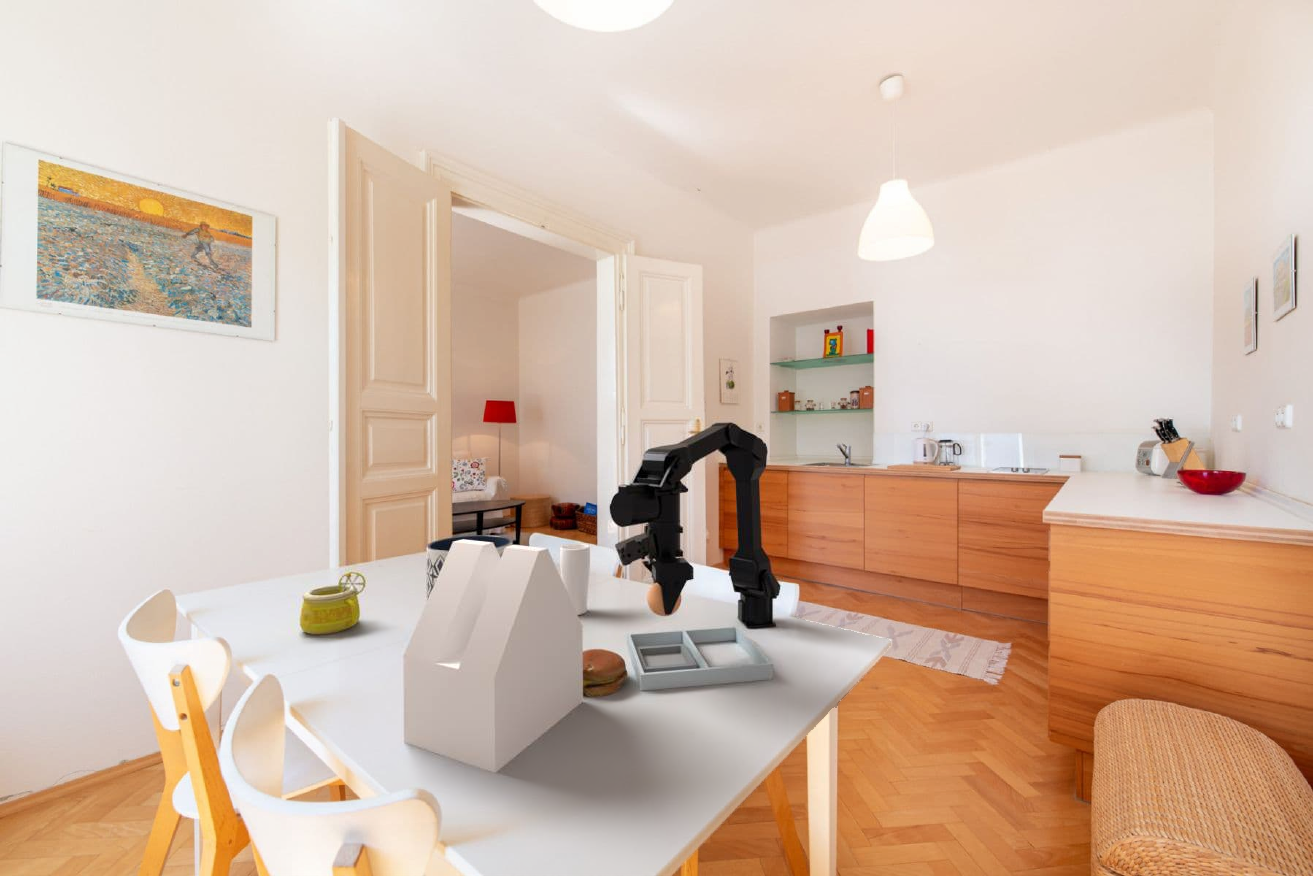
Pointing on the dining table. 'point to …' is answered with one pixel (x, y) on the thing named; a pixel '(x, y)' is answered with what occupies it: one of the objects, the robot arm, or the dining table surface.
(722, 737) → the dining table surface
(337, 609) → the mug
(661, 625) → the dining table surface
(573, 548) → the drinking glass
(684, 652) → the square tray
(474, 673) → the slotted house block
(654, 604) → the ball
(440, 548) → the planter
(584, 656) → the burger
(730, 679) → the two compartment tray
